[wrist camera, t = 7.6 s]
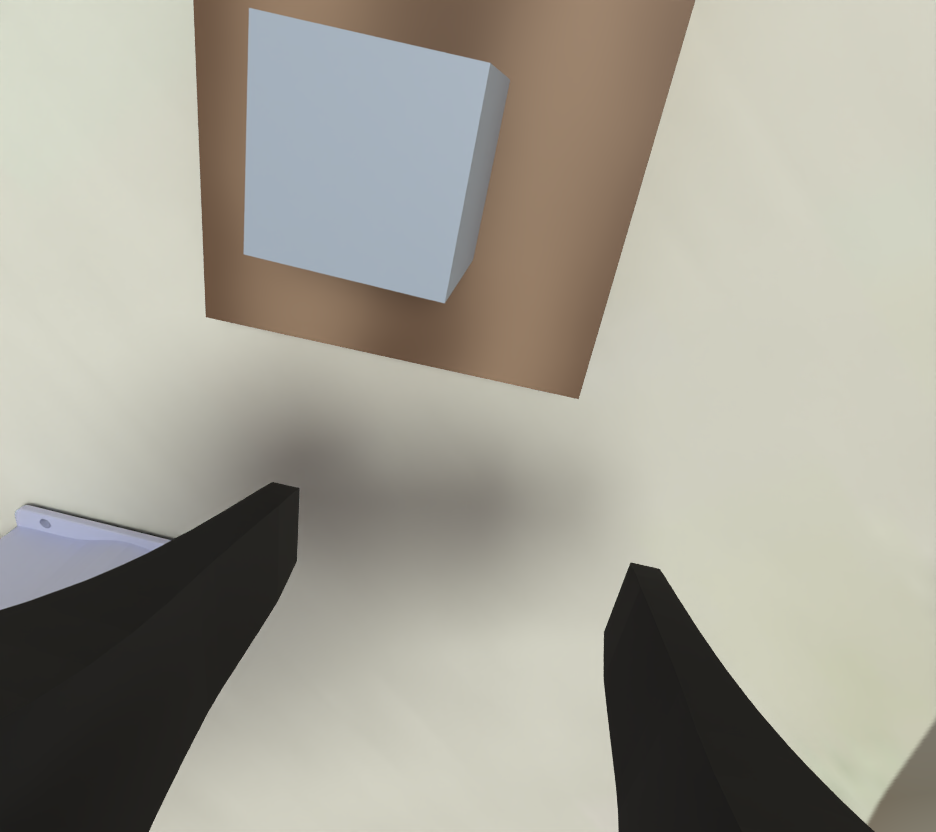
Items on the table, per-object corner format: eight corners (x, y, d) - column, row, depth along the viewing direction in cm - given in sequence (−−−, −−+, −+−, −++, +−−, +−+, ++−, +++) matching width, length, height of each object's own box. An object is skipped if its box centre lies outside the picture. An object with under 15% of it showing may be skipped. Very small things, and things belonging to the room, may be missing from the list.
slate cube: (319, 222, 17) (243, 254, 13) (334, 39, 15) (249, 8, 11) (473, 259, 16) (444, 303, 13) (510, 79, 14) (490, 63, 10)
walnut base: (250, 292, 21) (205, 316, 19) (250, -142, 16) (185, -196, 13) (576, 363, 21) (578, 399, 18) (696, -63, 15) (725, -102, 12)
